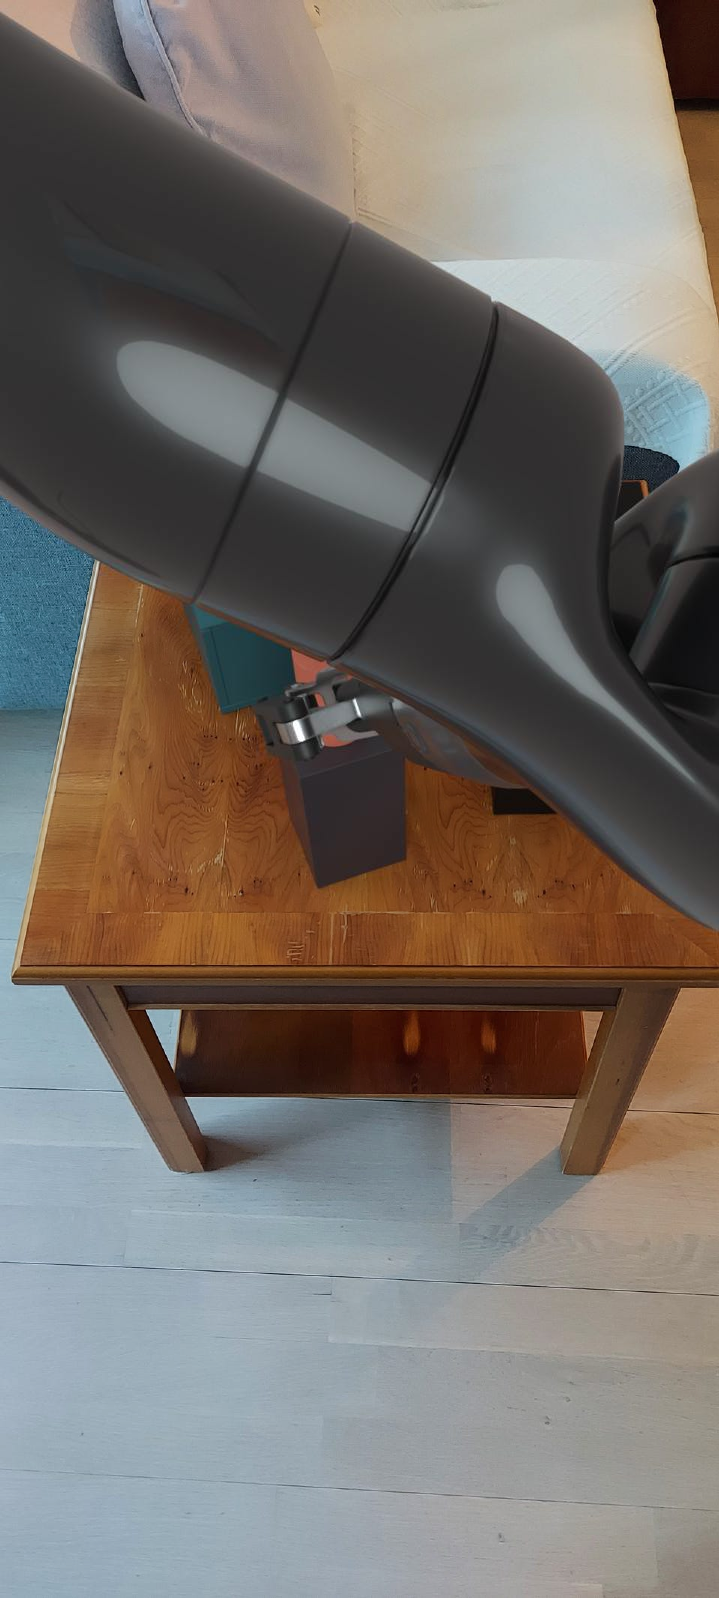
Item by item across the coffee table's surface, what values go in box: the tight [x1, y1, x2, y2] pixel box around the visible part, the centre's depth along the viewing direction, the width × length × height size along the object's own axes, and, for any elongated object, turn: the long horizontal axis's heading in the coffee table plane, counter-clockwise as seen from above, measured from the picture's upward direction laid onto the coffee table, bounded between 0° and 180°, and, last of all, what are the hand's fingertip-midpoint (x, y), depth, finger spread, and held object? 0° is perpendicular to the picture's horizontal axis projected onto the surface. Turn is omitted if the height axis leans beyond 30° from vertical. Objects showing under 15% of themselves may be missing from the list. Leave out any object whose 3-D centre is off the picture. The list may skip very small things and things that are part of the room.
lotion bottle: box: [291, 649, 355, 747], centre depth 61 cm, size 4×4×8 cm
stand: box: [278, 693, 407, 890], centre depth 70 cm, size 7×7×14 cm
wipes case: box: [181, 601, 296, 715], centre depth 84 cm, size 14×12×10 cm
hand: (371, 676), depth 52 cm, fingers open, 8 cm apart
